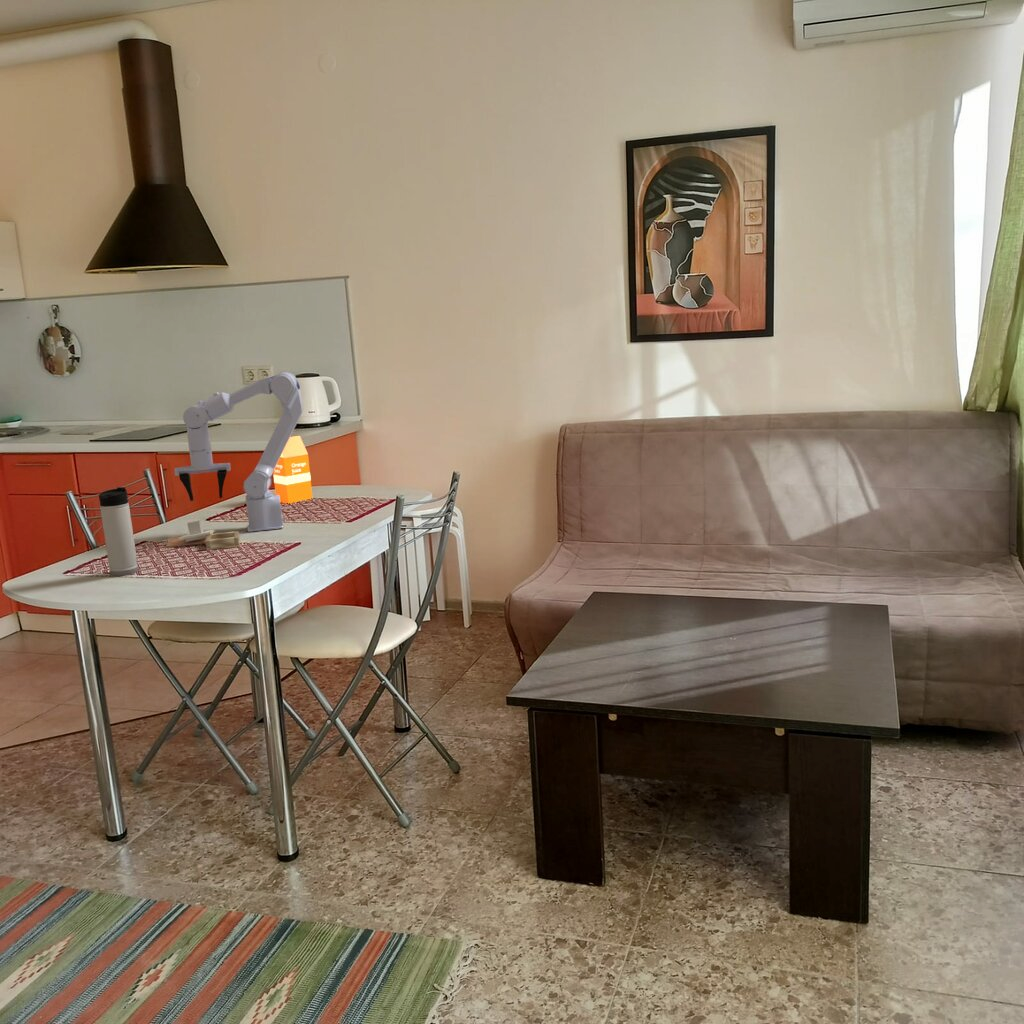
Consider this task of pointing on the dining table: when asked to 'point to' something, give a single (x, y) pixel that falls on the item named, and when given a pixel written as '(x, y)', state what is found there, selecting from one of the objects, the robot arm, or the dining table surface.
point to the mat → (183, 542)
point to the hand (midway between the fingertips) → (206, 498)
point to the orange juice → (293, 473)
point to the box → (222, 540)
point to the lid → (195, 532)
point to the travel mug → (118, 532)
